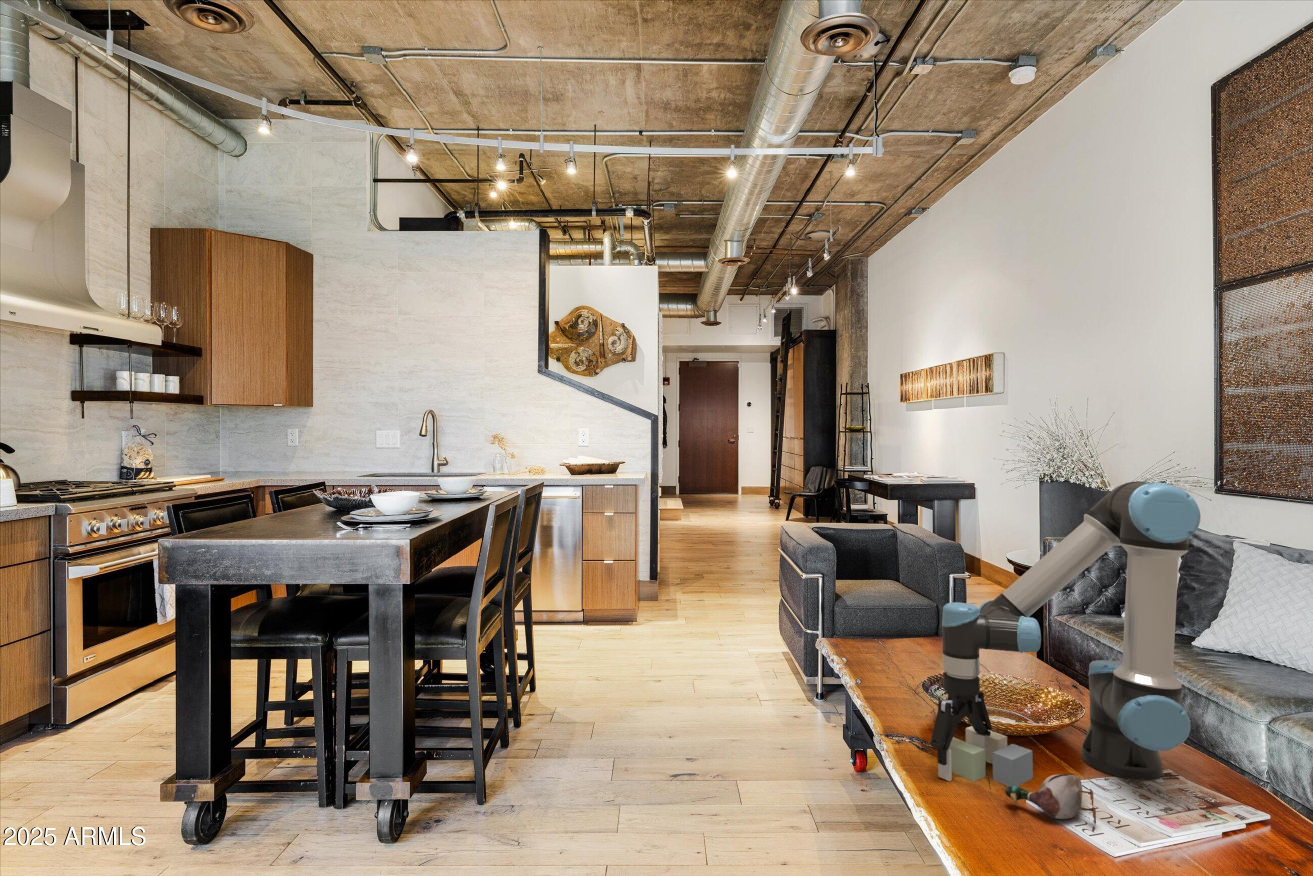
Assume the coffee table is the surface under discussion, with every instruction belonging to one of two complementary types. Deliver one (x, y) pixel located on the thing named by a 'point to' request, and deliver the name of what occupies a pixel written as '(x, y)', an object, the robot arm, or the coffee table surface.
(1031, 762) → the slate block
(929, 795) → the coffee table surface
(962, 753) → the sage block
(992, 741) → the cream block
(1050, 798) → the decorative duck model
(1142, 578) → the robot arm
